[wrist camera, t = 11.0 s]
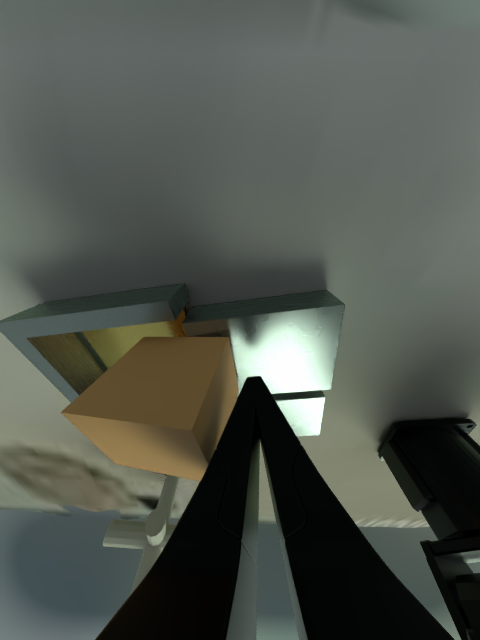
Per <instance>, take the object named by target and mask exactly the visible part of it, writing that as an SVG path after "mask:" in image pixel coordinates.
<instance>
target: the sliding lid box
mask: <svg viewBox="0 0 480 640" xmlns="http://www.w3.org/2000/svg"><path fill="white" fill-rule="evenodd" d="M189 300H190V299H189V296H188V293H187V289H186V286H185V283H183V284H175V285H168V286H161V287H154V288H146V289H139V290H132V291H125V292H117V293H110V294H103V295H96V296H89V297H81V298H74V299H67V300H60V301H52V302H45V303H42V304H39V305H37V306H35V307H32V308H30V309H27V310H25V311H22V312H20V313H17V314H15V315H13V316H10V317H8V318H5V319H3V320H0V331H1V332H2V333H3V334H4V335H5V337H6V338H7V339H8V340H9V341H10V342H11V343H12V344H13V345H14V346H15V347H16V348H17V349H18V350H19V351H20V352H21V353H22V354H23V355H24V356H25V357H26V358H27V359H28V360H29V361H30V362H31V363H32V364H33V365H34V366H35V367H36V368H37V369H38V370H39V371H40V372H41V373H42V374H43V375H44V376H45V377H46V378H47V379H48V380H49V381H50V382H51V383H52V384H53V385H54V386H55V387H56V388H57V389H58V390H59V391H60V392H61V393H62V394H63V395H64V396H65V397H66V398H67V399H68V400H69V401H70V402H71V403H72V402H73V401H74V400H75V399H76V398H77V397H78V396H79V395H81V394H82V393H83V392H84V391H85V390H86V389H87V388H88V387H89V386H90V385H92V384H93V383H94V382H95V381H96V380H97V379H98V378H99V377H100V376H101V375H103V374H104V373H105V372H106V371H107V370H108V369H109V368H110V367H111V366H112V365H114V364H115V363H116V362H117V361H118V360H119V359H120V358H121V357H122V356H123V355H124V354H126V353H127V352H128V351H129V350H130V349H131V348H132V347H133V346H134V345H135V344H137V343H138V342H139V341H140V340H141V339H142V338H143V337H229V341H230V346H231V352H232V357H233V362H234V367H235V372H236V377H237V383H238V388H239V391H238V396H239V394H240V391H241V389H242V387H243V384H244V382H245V380H246V378H247V377H251V376H261V377H262V379H263V380H264V382H265V384H266V385H267V387H268V389H269V390H270V392H271V394H276V393H289V392H303V391H316V390H329V389H331V384H332V378H333V372H334V366H335V360H336V355H337V349H338V343H339V337H340V331H341V325H342V320H343V314H344V308H345V304H344V303H342V302H341V301H340V300H339V299H338V298H336V297H335V296H334V295H333V294H332V293H330V292H329V291H328V290H323V291H315V292H307V293H299V294H291V295H283V296H275V297H267V298H259V299H251V300H243V301H235V302H227V303H219V304H211V305H203V306H195V307H192V308H191V309H190V311H189V313H188V314H187V315H186V312H185V309H184V307H185V305H186V304H187V302H188V301H189ZM81 332H82V333H83V334H84V335H83V334H82V333H81ZM84 336H85V337H86V338H87V340H88V341H89V342H88V341H87V340H86V338H85V337H84ZM89 343H90V344H91V345H92V347H93V348H94V349H93V348H92V347H91V345H90V344H89ZM94 350H95V351H96V352H97V353H96V352H95V351H94ZM97 354H98V355H99V356H98V355H97ZM99 357H100V358H101V359H102V360H101V359H100V358H99ZM102 361H103V362H104V363H103V362H102ZM104 364H105V365H106V366H107V367H106V366H105V365H104ZM107 368H108V369H107Z"/></svg>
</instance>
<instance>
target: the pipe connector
mask: <svg viewBox="0 0 480 640" xmlns="http://www.w3.org/2000/svg"><path fill="white" fill-rule="evenodd" d="M179 480H180V477H177V476H172V475H167V476H166V479H165V483H164V486H163V489H162V492H161V496H160V499H159V502H158V506H157V509H154V510H153V511H152V512H151V513H150V514H149V516H148V518H147V520H146V522H141V521H129V520H117V519H114V520H113V521H112V522H111V524H110V526H109V528H108V530H107V533H106V535H105V538H104V541H103V546H109V547H110V546H111V547H122V548H137V549H144V552H143V555H142V558H141V561H140V565H139V568H138V571H137V575H136V578H135V581H134V584H133V588H132V591H131V594H132V593H133V591H134V590H135V589H136V587H137V586H138V585H139V584H140V582H141V581H142V580H143V579H144V577H145V576H146V575H147V573H148V572H149V570H150V569H151V567H152V566H153V564H154V563H155V561H156V560H157V558H158V557H159V555H160V553H161V552H162V550H163V549H164V547H165V545H166V543H167V542H168V540H169V538H170V536H171V534H172V532H173V531H174V529H175V527H176V525H175V524H169V520H170V517H171V513H172V509H173V505H174V501H175V497H176V493H177V489H178V485H179ZM131 594H130V595H131Z"/></svg>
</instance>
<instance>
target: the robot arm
mask: <svg viewBox="0 0 480 640" xmlns="http://www.w3.org/2000/svg"><path fill="white" fill-rule="evenodd" d="M475 427H476V423H475V422H473V421H472V420H471V419H453V420H435V421H418V422H400V423H396V424H394V425H393V427H392V429H391V431H390V433H389V435H388V437H387V438H386V440H385V442H384V444H383V446H382V448H381V450H380V452H379V454H378V456H379V457H380V459H381V460H382V461H385V462H386V463H387V465H388V467H389V468H390V470H391V472H392V473H393V475H394V477H395V479H396V480H397V482H398V484H399V485H400V487H401V489H402V491H403V492H404V494H405V496H406V497H407V499H408V501H409V502H410V504H411V506H412V507H413V508H414V509H415V510H416V511H417V512H422V514H423V516H424V517H425V519H426V521H427V522H428V524H429V525H430V527H431V529H432V530H433V532H434V534H435V535H436V537H437V539H438V541H428V540H426V541H420V544H421V546H422V548H423V551H424V553H425V555H426V559H427V562H428V564H429V567H430V569H431V571H432V573H433V576H434V578H435V580H436V583H437V585H438V587H439V589H440V592H441V594H442V596H443V598H444V601H445V603H446V605H447V608H448V610H449V612H450V615H451V617H452V619H453V621H454V624H455V626H456V628H457V631H458V633H459V635H460V637H461V640H480V573H473V572H472V570H471V569H470V568H469V566H468V565H467V564H466V563H473V562H480V446H479V445H478V444H477V443H476V442H475V441H474V440H473V439H472V438H471V437H470V436H469V435H468V434H469V433H470V432H471V431H472V430H473V429H474V428H475ZM260 442H261V447H262V452H263V457H264V462H265V467H266V472H267V477H268V482H269V488H270V493H271V498H272V503H273V508H274V513H275V518H276V523H277V528H278V533H279V539H280V544H281V549H282V554H283V559H284V564H285V568H286V574H287V580H288V584H289V589H290V595H291V600H292V605H293V610H294V615H295V620H296V625H297V631H298V636H299V640H454V638H453V637H452V636H451V635H450V634H449V633H448V632H447V631H446V630H445V629H444V628H443V627H442V626H441V624H440V623H439V622H438V621H437V620H436V619H435V618H434V617H433V616H432V615H431V614H430V613H429V612H428V611H427V609H425V607H424V606H423V605H422V604H421V603H420V602H419V601H418V600H417V599H416V598H415V597H414V595H413V594H411V592H410V591H409V590H408V589H407V588H406V587H405V586H404V585H403V584H402V582H401V581H400V580H399V579H398V578H397V577H396V576H395V574H394V573H393V572H392V571H391V570H390V569H389V568H388V566H387V565H386V564H385V562H384V561H383V560H382V559H381V557H380V556H379V555H378V554H377V552H376V551H375V550H374V548H373V547H372V546H371V544H370V543H369V542H368V540H367V539H366V538H365V536H364V535H363V534H362V532H361V531H360V529H359V528H358V527H357V525H356V524H355V523H354V521H353V520H352V518H351V517H350V516H349V514H348V513H347V512H346V510H345V509H344V507H343V506H342V505H341V503H340V502H339V501H338V499H337V498H336V496H335V495H334V494H333V492H332V491H331V489H330V488H329V487H328V485H327V484H326V482H325V481H324V479H323V478H322V476H321V475H320V474H319V472H318V471H317V469H316V467H315V466H314V464H313V463H312V461H311V459H310V458H309V456H308V454H307V453H306V451H305V449H304V448H303V446H302V445H301V443H300V441H299V439H298V438H297V436H296V434H295V433H294V431H293V429H292V428H291V426H290V424H289V423H288V421H287V419H286V417H285V416H284V414H283V412H282V411H281V409H280V407H279V406H278V404H277V402H276V401H275V399H274V397H273V395H272V394H271V392H270V390H269V389H268V387H267V385H266V384H265V382H264V380H263V379H262V377H261V376H251V377H247V378H246V380H245V382H244V384H243V387H242V389H241V391H240V394H239V396H238V398H237V400H236V403H235V405H234V407H233V410H232V412H231V414H230V417H229V419H228V421H227V423H226V426H225V428H224V430H223V433H222V435H221V437H220V440H219V442H218V444H217V447H216V449H215V451H214V453H213V456H212V458H211V460H210V462H209V464H208V467H207V469H206V471H205V473H204V475H203V477H202V479H201V481H200V483H199V485H198V487H197V489H196V491H195V492H194V494H193V496H192V498H191V500H190V502H189V503H188V505H187V507H186V509H185V511H184V513H183V514H182V516H181V518H180V520H179V522H178V524H177V525H176V527H175V529H174V531H173V532H172V534H171V536H170V538H169V540H168V542H167V543H166V545H165V547H164V549H163V550H162V552H161V553H160V555H159V557H158V558H157V560H156V561H155V563H154V564H153V566H152V567H151V569H150V570H149V572H148V573H147V575H146V576H145V577H144V579H143V580H142V581H141V582H140V584H139V585H138V586H137V587H136V589H135V590H134V591H133V593H132V594H131V595H130V596H129V598H128V599H127V600H126V601H125V603H124V604H123V605H122V606H121V608H120V609H119V610H118V611H117V613H116V614H115V615H114V617H113V618H112V619H111V620H110V622H109V623H108V624H107V625H106V627H105V628H104V629H103V630H102V632H101V633H100V634H99V636H98V637H97V638H96V639H95V640H256V616H257V614H256V613H257V564H258V511H259V458H260Z"/></svg>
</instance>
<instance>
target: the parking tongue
mask: <svg viewBox="0 0 480 640" xmlns="http://www.w3.org/2000/svg"><path fill="white" fill-rule="evenodd" d="M272 395H273V397H274V399H275V401H276V402H277V404H278V406H279V407H280V409H281V411H282V412H283V414H284V416H285V417H286V419H287V421H288V423H289V424H290V426H291V428H292V429H293V431H294V433H295V434H296V436H313V435H319V434H320V427H321V421H322V414H323V408H324V401H325V396H324V394H323V392H322V390H316V391H303V392H289V393H276V394H272ZM237 398H238V396H237Z"/></svg>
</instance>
